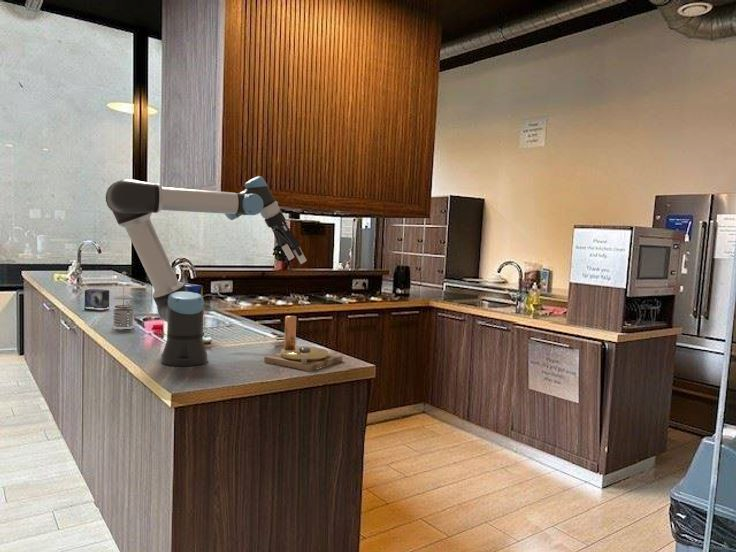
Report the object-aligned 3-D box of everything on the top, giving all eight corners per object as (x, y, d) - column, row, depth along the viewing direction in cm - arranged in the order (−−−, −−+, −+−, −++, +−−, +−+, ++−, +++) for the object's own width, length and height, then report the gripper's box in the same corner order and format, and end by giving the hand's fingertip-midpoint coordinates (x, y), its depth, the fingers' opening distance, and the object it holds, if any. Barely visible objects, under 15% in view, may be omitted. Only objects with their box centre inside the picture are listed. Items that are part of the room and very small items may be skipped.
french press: (127, 325, 250) (128, 270, 248) (141, 328, 244) (143, 272, 242) (106, 327, 242) (107, 271, 240) (120, 331, 236) (121, 273, 234)
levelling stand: (310, 371, 185) (311, 356, 184) (264, 362, 194) (264, 348, 194) (342, 361, 202) (342, 347, 202) (298, 352, 212) (298, 340, 211)
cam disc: (309, 363, 186) (311, 323, 185) (270, 355, 195) (272, 317, 194) (336, 355, 201) (338, 318, 200) (299, 348, 210) (300, 313, 208)
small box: (83, 309, 288) (83, 289, 287) (91, 308, 294) (92, 288, 293) (101, 311, 286) (102, 291, 285) (109, 309, 292) (110, 289, 292)
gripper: (291, 210, 206) (317, 258, 213) (270, 209, 227) (294, 252, 235) (274, 220, 203) (301, 269, 210) (254, 218, 225) (279, 262, 232)
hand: (297, 260), depth 223 cm, fingers open, 13 cm apart
